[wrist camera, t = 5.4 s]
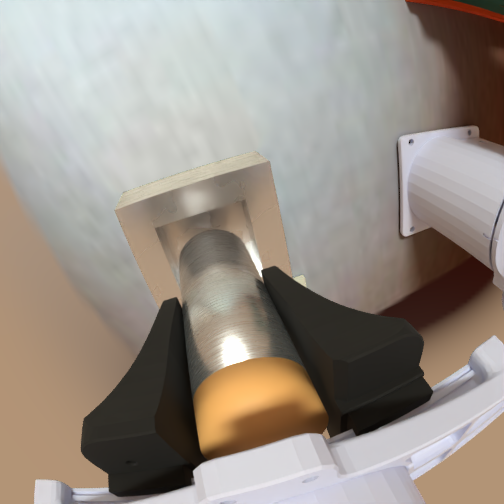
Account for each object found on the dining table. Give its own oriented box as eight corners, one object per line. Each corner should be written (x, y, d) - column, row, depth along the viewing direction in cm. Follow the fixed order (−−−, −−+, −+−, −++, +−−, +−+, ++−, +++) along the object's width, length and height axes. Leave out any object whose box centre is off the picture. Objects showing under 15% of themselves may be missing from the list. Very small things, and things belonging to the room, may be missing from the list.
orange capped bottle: (239, 220, 15) (326, 384, 7) (255, 279, 17) (329, 441, 9) (168, 242, 15) (178, 429, 6) (191, 299, 17) (223, 475, 8)
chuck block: (254, 150, 18) (269, 161, 15) (279, 264, 22) (294, 288, 19) (123, 192, 17) (114, 209, 14) (168, 299, 21) (169, 328, 18)
